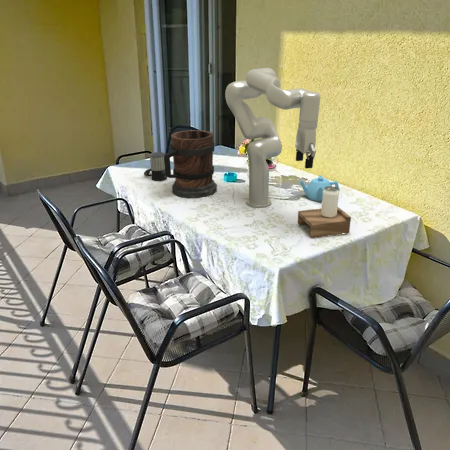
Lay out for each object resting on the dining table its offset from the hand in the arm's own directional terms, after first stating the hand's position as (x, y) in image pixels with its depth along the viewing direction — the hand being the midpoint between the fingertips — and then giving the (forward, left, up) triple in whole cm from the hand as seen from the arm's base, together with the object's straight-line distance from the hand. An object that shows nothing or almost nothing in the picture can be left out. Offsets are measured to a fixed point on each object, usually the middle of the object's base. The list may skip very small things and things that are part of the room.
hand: (303, 164), depth 181 cm
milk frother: (-80, -58, -27) cm, 102 cm away
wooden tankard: (-50, -42, -27) cm, 71 cm away
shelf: (+10, +6, -26) cm, 29 cm away
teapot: (-25, +20, -27) cm, 42 cm away
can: (+9, +9, -21) cm, 24 cm away
